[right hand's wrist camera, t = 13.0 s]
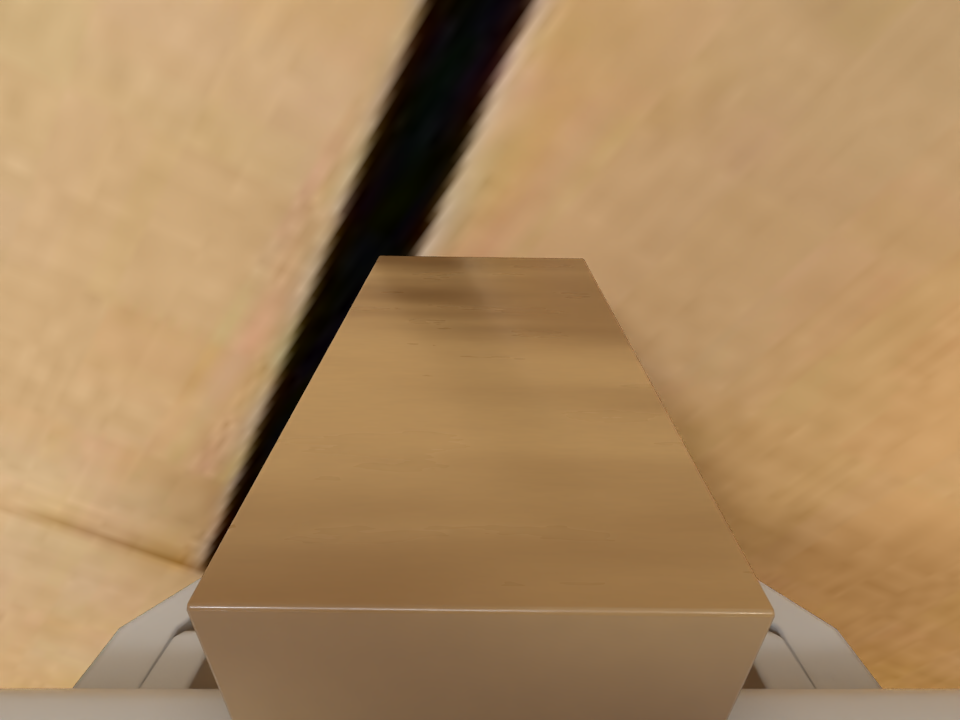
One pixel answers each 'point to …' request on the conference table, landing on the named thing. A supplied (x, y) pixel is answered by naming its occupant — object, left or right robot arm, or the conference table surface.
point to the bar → (479, 522)
